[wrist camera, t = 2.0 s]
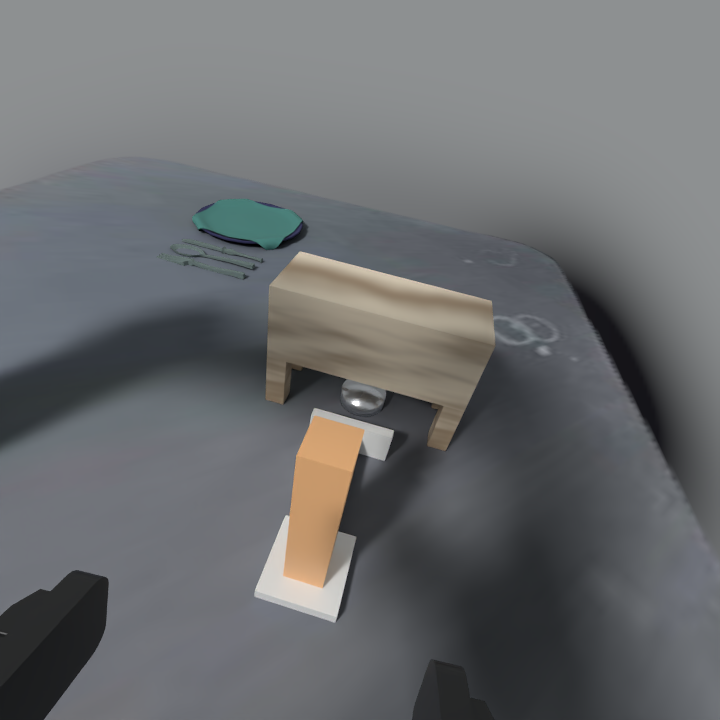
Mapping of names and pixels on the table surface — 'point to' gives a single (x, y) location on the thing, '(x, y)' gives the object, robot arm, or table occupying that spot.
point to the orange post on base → (319, 516)
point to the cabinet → (378, 335)
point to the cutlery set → (239, 231)
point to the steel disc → (362, 398)
